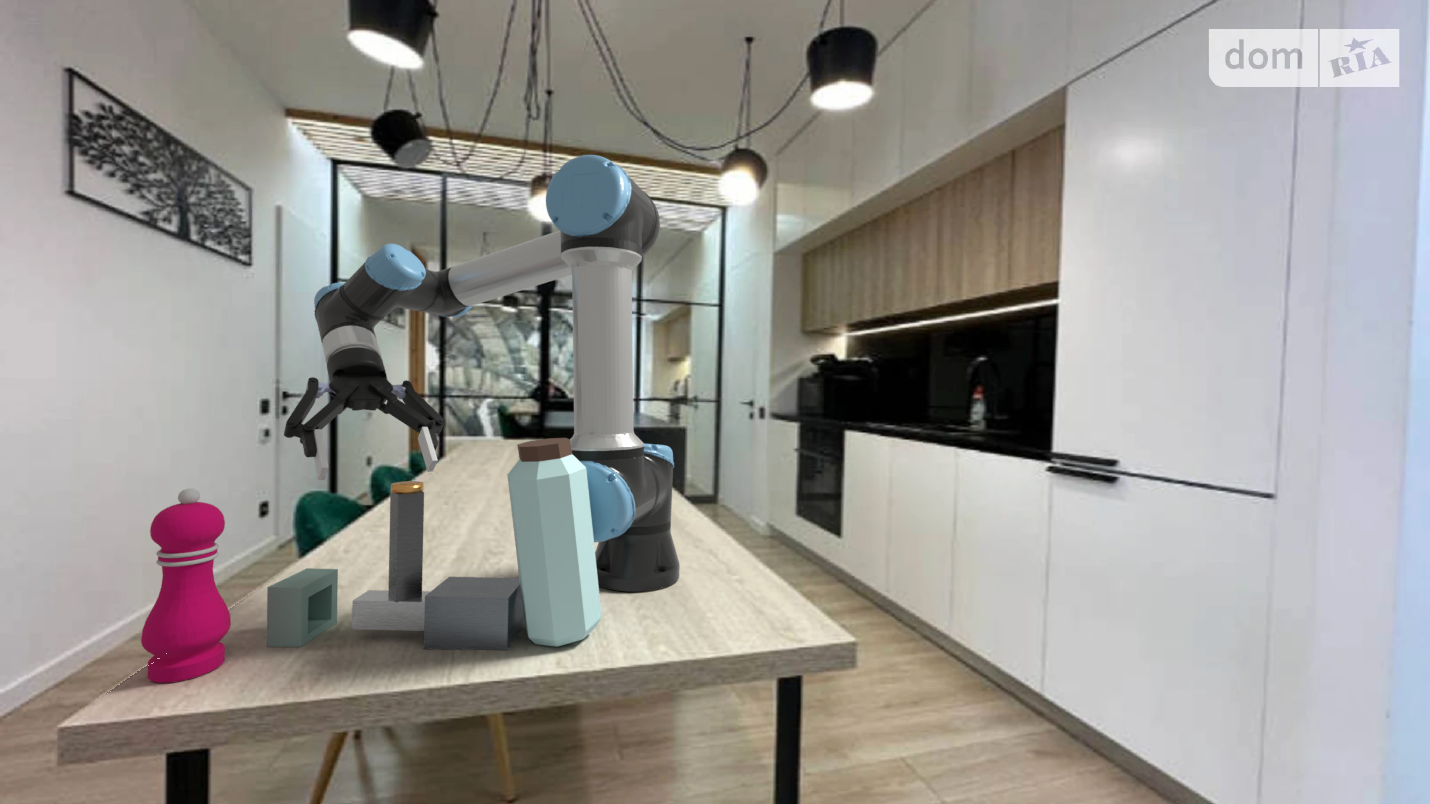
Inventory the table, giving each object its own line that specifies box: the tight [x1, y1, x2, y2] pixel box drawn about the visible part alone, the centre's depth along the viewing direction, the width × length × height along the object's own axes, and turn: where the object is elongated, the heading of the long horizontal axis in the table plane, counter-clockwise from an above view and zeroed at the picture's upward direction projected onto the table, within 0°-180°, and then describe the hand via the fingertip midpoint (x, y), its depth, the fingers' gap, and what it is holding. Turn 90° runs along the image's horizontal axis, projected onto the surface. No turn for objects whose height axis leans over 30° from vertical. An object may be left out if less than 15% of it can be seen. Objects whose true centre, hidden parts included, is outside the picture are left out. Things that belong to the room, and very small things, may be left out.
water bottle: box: [506, 437, 603, 647], centre depth 73 cm, size 10×10×25 cm
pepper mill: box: [140, 488, 232, 684], centre depth 62 cm, size 7×7×20 cm
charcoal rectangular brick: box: [423, 576, 525, 651], centre depth 73 cm, size 10×7×6 cm
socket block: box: [266, 567, 339, 648], centre depth 72 cm, size 4×7×7 cm, turn 3°
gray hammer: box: [351, 480, 432, 632], centre depth 72 cm, size 18×4×18 cm, turn 93°
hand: (381, 470), depth 79 cm, fingers open, 13 cm apart
